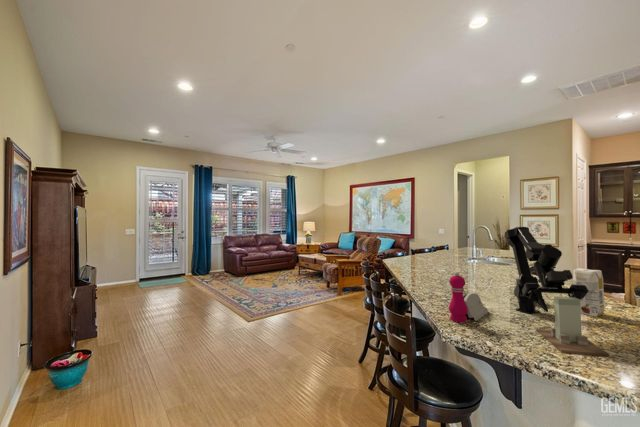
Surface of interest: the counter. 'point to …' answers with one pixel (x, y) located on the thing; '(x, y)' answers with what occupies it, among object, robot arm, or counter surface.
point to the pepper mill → (457, 299)
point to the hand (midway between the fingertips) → (562, 312)
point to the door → (567, 317)
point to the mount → (571, 343)
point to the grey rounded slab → (474, 306)
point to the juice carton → (590, 291)
